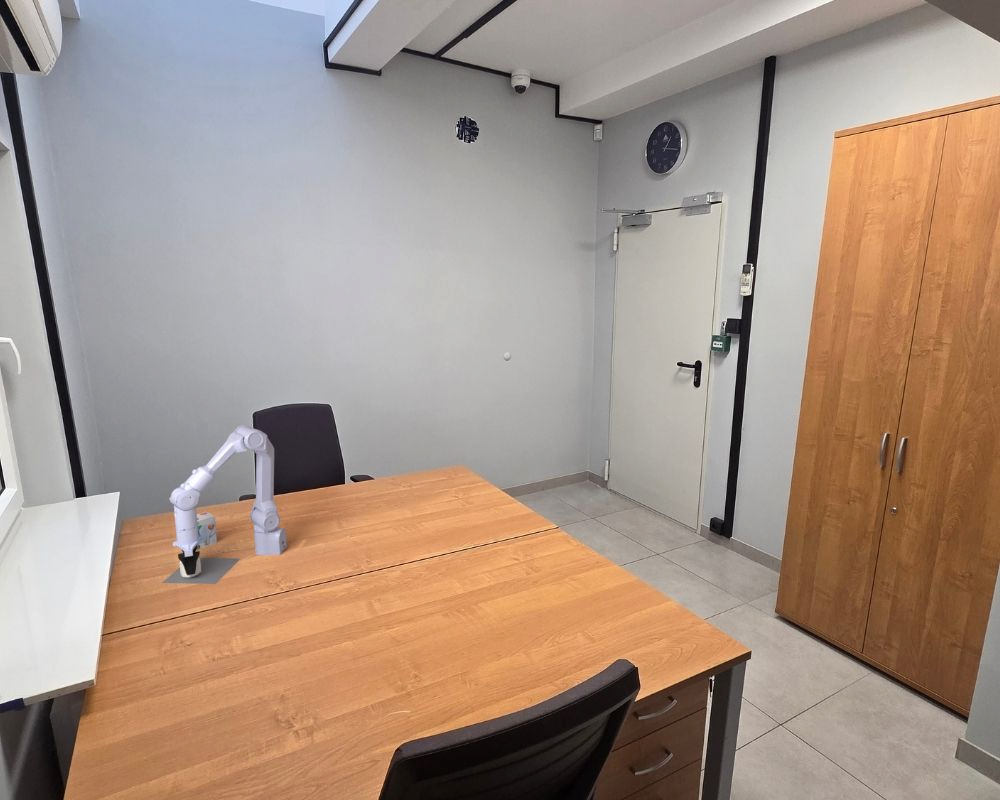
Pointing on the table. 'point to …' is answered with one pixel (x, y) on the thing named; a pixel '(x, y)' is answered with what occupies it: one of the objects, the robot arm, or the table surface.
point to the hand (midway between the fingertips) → (190, 568)
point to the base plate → (206, 571)
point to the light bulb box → (206, 530)
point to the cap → (198, 570)
